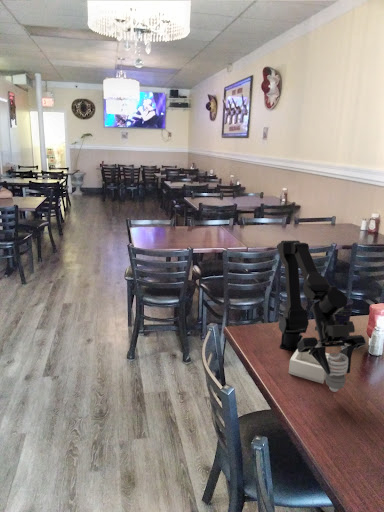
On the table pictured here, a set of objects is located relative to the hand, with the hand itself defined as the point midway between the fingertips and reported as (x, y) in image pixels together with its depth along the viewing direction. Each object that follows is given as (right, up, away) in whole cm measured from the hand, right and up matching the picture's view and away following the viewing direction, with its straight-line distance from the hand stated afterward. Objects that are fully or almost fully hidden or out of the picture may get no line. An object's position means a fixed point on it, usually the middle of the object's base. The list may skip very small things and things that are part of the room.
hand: (338, 373), depth 112 cm
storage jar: (+14, +2, +44) cm, 46 cm away
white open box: (-3, -4, +18) cm, 19 cm away
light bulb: (0, -6, +3) cm, 7 cm away
